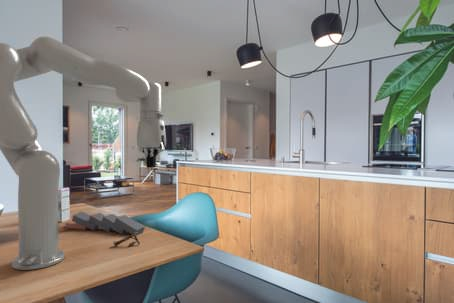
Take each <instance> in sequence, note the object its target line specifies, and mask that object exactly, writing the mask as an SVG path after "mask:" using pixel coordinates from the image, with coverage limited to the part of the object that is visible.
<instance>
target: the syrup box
mask: <svg viewBox="0 0 454 303" xmlns="http://www.w3.org/2000/svg"><path fill="white" fill-rule="evenodd" d="M70 208H71V207H70V187H58V223H63V222H68V221H69V220H70V219H71V215H70V213H71V212H70V210H71V209H70Z"/></svg>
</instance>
